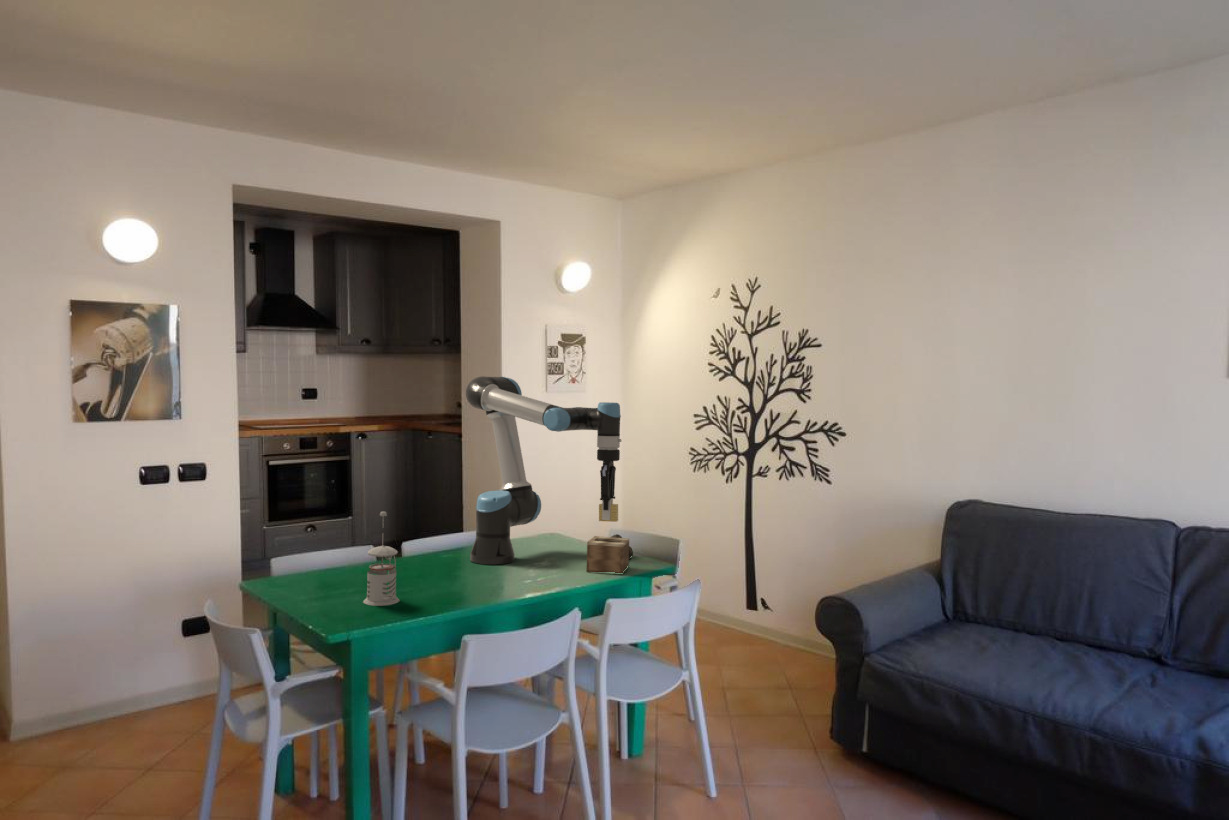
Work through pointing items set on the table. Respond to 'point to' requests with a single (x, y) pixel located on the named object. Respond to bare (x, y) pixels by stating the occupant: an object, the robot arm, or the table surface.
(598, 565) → the coin box
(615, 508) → the yellow flat block
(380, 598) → the french press
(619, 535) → the fossil
